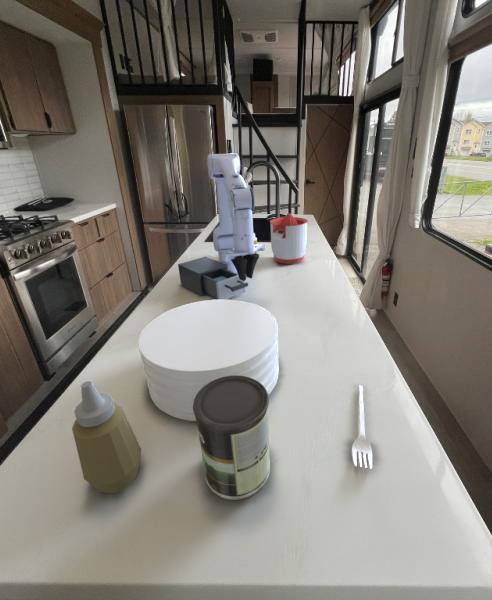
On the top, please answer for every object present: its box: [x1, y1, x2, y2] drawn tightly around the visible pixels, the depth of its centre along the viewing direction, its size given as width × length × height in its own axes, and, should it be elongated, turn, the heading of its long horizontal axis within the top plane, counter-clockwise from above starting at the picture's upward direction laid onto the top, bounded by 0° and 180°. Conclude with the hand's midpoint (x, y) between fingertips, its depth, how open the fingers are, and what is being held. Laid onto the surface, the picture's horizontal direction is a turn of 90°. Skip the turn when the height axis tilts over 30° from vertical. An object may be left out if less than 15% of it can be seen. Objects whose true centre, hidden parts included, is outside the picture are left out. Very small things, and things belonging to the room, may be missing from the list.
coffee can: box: [193, 375, 271, 501], centre depth 47 cm, size 10×10×14 cm
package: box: [214, 276, 228, 282], centre depth 108 cm, size 4×5×4 cm
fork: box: [351, 384, 373, 470], centre depth 57 cm, size 3×20×2 cm, turn 167°
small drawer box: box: [177, 256, 228, 297], centre depth 115 cm, size 14×12×8 cm
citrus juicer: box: [269, 212, 309, 265], centre depth 135 cm, size 16×17×20 cm
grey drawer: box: [201, 268, 249, 299], centre depth 107 cm, size 17×10×6 cm, turn 44°
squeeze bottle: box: [71, 380, 142, 495], centre depth 46 cm, size 8×8×18 cm
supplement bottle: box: [253, 232, 259, 254], centre depth 145 cm, size 6×6×10 cm
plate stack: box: [137, 298, 280, 422], centre depth 69 cm, size 28×28×12 cm
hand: (245, 278), depth 97 cm, fingers closed
